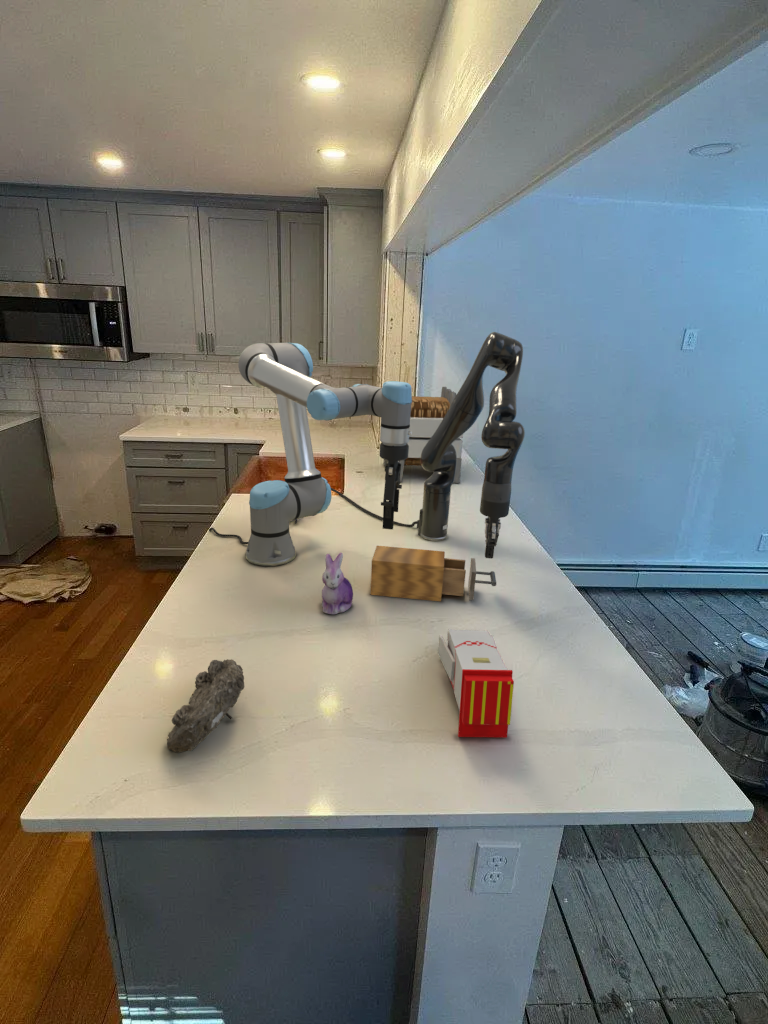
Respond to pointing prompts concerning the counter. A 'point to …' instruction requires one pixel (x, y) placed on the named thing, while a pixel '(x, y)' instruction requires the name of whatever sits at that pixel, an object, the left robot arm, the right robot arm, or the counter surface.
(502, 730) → the toy
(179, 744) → the fossil
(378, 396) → the left robot arm
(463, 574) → the drawer
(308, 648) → the counter surface
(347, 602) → the figurine
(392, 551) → the cabinet
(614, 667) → the counter surface
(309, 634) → the counter surface
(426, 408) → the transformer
